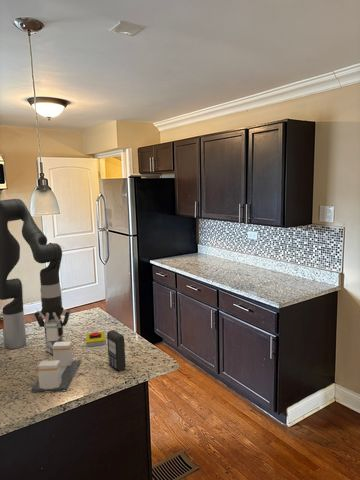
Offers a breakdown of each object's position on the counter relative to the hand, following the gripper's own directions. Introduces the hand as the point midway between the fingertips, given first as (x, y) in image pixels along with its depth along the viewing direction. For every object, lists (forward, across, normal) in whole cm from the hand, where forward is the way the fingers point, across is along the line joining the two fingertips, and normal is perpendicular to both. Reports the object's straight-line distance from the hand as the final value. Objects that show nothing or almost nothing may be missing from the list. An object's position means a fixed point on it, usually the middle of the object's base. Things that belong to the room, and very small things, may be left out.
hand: (54, 335), depth 142 cm
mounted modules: (+16, 0, 0) cm, 16 cm away
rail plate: (+17, 0, 0) cm, 17 cm away
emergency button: (+18, +9, +32) cm, 38 cm away
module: (+1, 0, 0) cm, 1 cm away
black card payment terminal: (+18, +23, +6) cm, 30 cm away
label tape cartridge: (+18, -8, +22) cm, 29 cm away
